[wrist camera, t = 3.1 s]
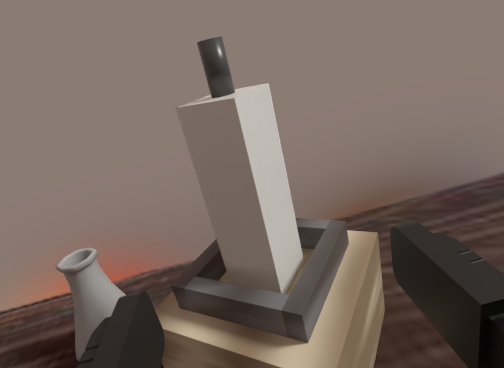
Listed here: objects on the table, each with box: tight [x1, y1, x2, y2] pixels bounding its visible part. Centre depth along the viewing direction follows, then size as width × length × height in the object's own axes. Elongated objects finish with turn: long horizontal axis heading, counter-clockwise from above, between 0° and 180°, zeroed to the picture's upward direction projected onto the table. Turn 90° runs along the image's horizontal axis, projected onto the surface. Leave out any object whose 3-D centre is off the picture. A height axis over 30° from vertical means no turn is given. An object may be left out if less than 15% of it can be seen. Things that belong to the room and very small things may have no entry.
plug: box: [176, 37, 304, 294], centre depth 20 cm, size 4×4×16 cm
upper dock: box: [155, 218, 385, 368], centre depth 24 cm, size 13×13×10 cm
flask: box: [55, 248, 126, 361], centre depth 30 cm, size 7×7×10 cm
